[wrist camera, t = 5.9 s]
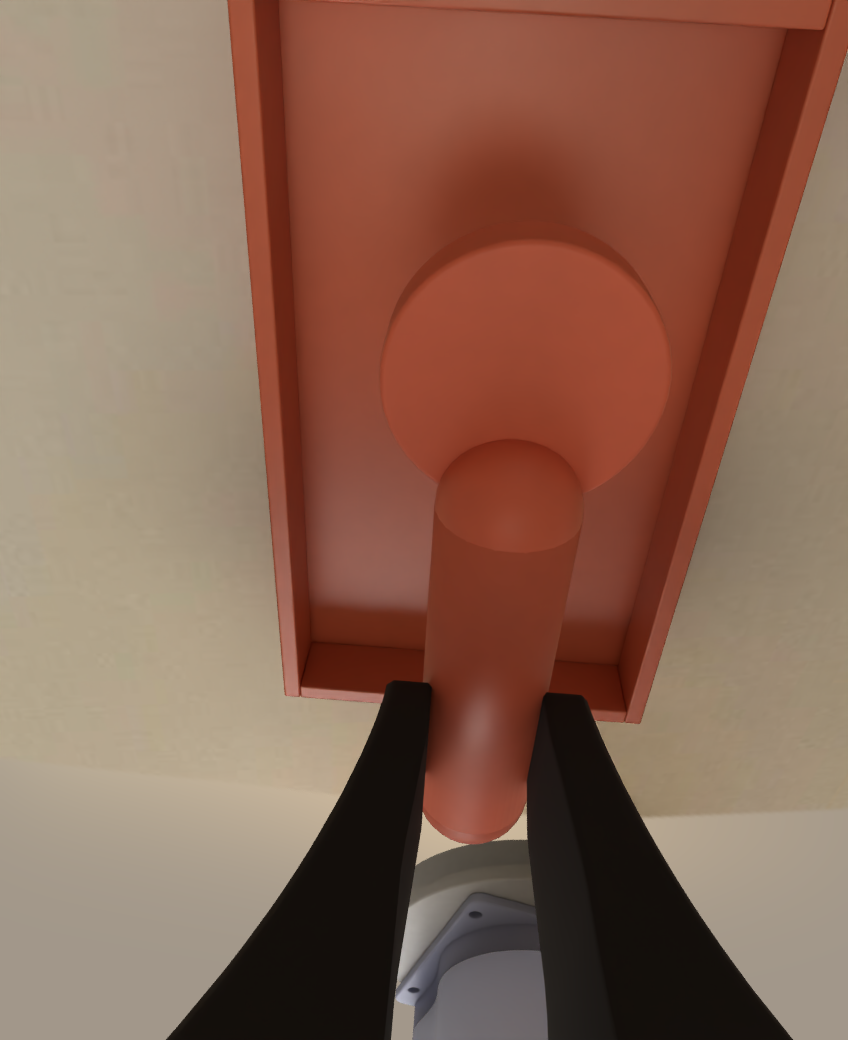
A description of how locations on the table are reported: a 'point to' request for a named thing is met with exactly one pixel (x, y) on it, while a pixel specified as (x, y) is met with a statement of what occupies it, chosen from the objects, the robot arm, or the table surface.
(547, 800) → the robot arm
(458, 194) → the red tray
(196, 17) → the table surface
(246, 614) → the table surface
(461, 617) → the red spoon
